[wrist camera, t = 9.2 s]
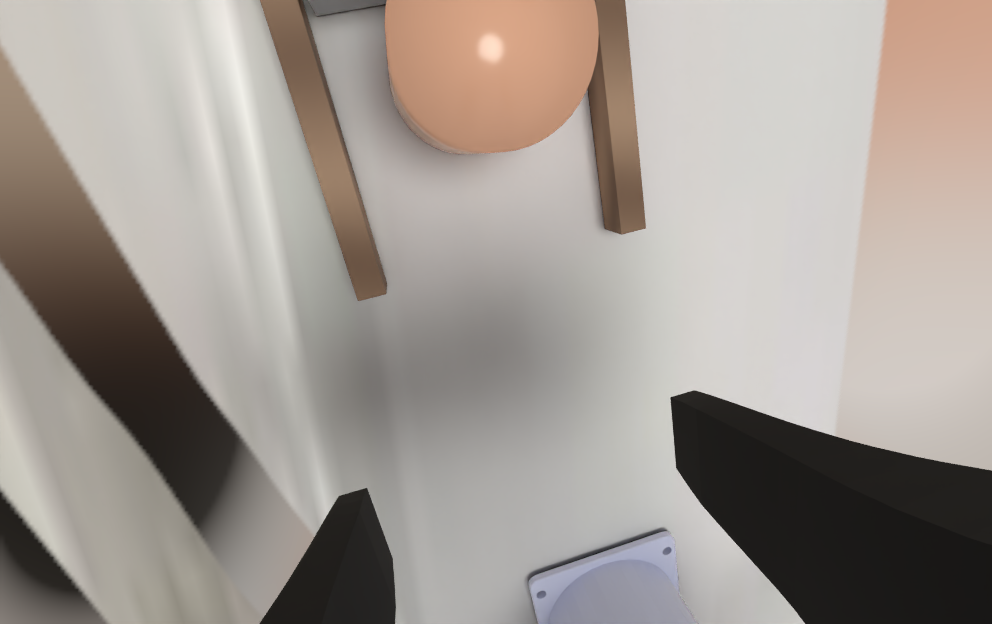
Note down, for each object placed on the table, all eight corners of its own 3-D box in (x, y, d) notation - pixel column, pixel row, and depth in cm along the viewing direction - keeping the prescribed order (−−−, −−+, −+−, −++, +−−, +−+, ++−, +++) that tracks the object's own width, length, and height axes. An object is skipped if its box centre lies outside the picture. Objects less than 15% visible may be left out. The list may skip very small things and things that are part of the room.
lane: (627, 223, 19) (652, 229, 17) (360, 289, 18) (356, 305, 16) (580, -225, 14) (608, -282, 12) (210, -180, 13) (179, -236, 11)
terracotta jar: (541, 138, 17) (610, 129, 12) (410, 167, 17) (417, 172, 11) (517, -17, 16) (583, -112, 10) (369, 9, 15) (355, -78, 10)
